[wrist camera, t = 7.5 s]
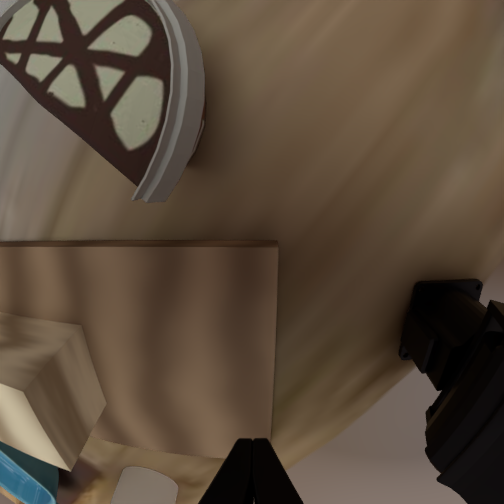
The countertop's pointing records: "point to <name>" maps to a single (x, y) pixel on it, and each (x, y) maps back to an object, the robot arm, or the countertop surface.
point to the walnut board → (162, 332)
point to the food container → (114, 80)
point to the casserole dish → (27, 476)
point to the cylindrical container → (144, 487)
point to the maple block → (47, 389)
